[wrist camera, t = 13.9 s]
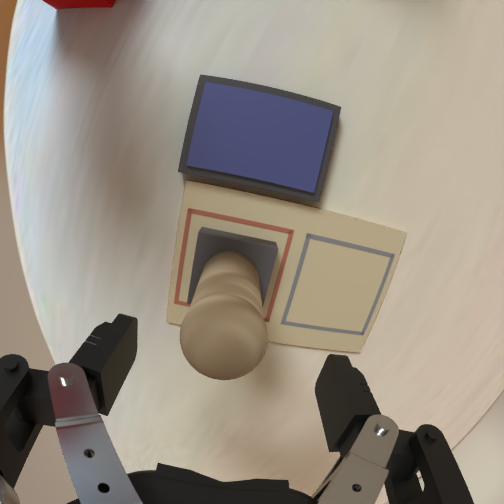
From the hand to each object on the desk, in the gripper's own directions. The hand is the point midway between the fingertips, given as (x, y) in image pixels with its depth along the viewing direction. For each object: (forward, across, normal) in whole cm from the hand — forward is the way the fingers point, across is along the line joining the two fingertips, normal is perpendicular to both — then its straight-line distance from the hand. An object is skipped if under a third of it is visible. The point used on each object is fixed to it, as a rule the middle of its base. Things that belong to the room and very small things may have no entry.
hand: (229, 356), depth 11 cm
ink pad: (+10, 0, -9) cm, 13 cm away
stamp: (+9, 0, 0) cm, 9 cm away
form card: (+10, -3, 0) cm, 10 cm away
